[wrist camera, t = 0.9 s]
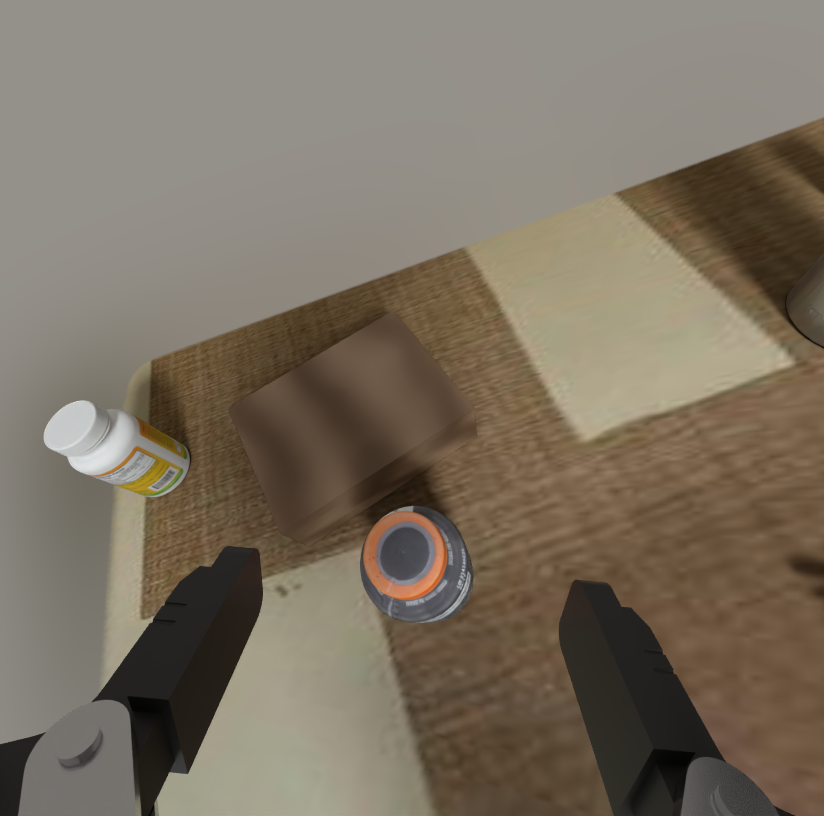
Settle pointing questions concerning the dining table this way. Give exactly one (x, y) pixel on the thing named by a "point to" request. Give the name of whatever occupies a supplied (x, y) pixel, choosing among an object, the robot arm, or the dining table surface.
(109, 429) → the supplement bottle
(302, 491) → the stand
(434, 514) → the pill bottle
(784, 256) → the dining table surface
